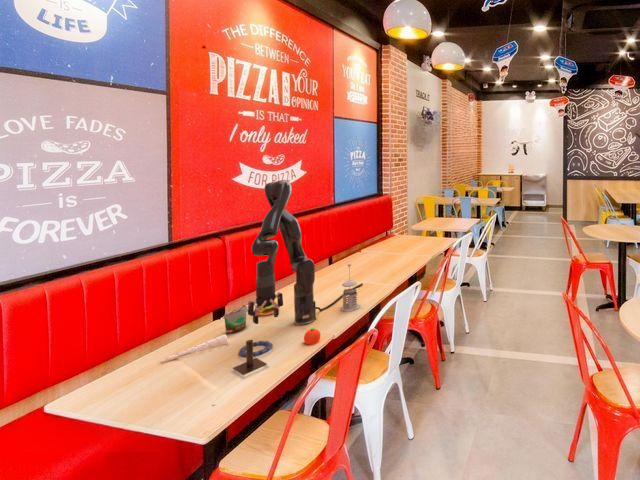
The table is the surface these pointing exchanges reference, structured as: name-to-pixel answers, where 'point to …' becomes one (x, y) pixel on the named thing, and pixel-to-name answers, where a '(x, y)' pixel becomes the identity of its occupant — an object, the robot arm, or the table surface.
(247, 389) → the table surface
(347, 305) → the french press
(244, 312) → the food container
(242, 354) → the ring
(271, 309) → the hamburger
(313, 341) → the clementine
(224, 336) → the unicorn horn
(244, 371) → the peg stand
